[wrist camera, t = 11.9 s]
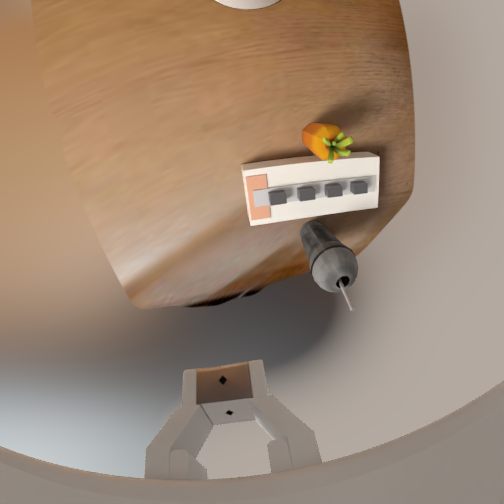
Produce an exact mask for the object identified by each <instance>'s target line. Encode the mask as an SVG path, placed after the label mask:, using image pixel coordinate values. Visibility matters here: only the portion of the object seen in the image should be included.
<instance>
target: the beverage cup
mask: <svg viewBox="0 0 504 504" xmlns="http://www.w3.org/2000/svg"><path fill="white" fill-rule="evenodd" d="M300 236H301V239H302V242H303V245H304V248H305V251H306V254H307V256H308V259H309V262H310V270H311V275H312V278H313V279H314V281H315V282H316V283H317V284H318V285H319V286H320V287H321V288H323V289H325V290H327V291H329V292H341V291H342V292H343V294H344V296H345V298H346V300H347V303H348V305H349V307H350V310H351V311H354V307H353V305H352V303H351V300H350V298H349V296H348V294H347V291H346V289H348V288H349V287H350V286H351V285H352V284H353V283H354V281H355V279H356V277H357V273H358V265H357V260H356V258H355V254H354V253H353V251H352V250H351V249H350V248H348V247H346V246H345V245H343V244H342V243H341V242H340V241H339V240H338V239H337V238H336V237H335V236H334V235H333V234H332V233H331V232H330V231H329V230H328V229H327V228H326V227H325V226H323V225H322V224H321V223H320V222H318V221H309V222H307V223H306V224H304V225H303V227H302V228H301V231H300Z"/></svg>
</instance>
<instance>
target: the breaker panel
mask: <svg viewBox="0 0 504 504" xmlns="http://www.w3.org/2000/svg"><path fill="white" fill-rule="evenodd" d="M241 168H242V175H243V182H244V189H245V196H246V203H247V210H248V216H249V220H250V224H251V226H254V225H260V224H267V223H273V222H279V221H286V220H293V219H299V218H306V217H313V216H320V215H327V214H334V213H341V212H348V211H356V210H363V209H371V208H378V193H379V156H377V155H375V154H372V153H370V152H352V153H351V154H350V155H349V156H342V155H341V156H340V157H339V158H338V159H337V160H334V161H333V163H331V164H330V163H328V160H321V159H320V158H319V157H317V156H316V155H314V156H304V157H295V158H286V159H278V160H270V161H262V162H255V163H248V164H241Z"/></svg>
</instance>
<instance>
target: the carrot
mask: <svg viewBox="0 0 504 504" xmlns="http://www.w3.org/2000/svg"><path fill="white" fill-rule="evenodd" d="M302 140H303V142H304V144H305V145H306V146H307V147H308V148H309V149H310V150H311V151H312V152H313V153H314V154H315V155H316V156H317V157H319V158H320V159H321V160H328V163H330V164H331V163H333V161H334V160H337V159H338V158H339V157H340V156H341V155H342V156H349V155H350V154H351V151H350V150H346V146H348V145H350V144H351V143H353V142H354V141H353V138H352V137H348V138H347V137H346V136H345V134H344V133H343V132H342V131H341V130H340V129H339V128H338V126H336V125H332V124H327V123H311V124H308V125H307V126H306V127H305V128H304V129H303V130H302Z"/></svg>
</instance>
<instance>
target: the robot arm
mask: <svg viewBox="0 0 504 504" xmlns="http://www.w3.org/2000/svg"><path fill="white" fill-rule="evenodd" d="M215 1H217V2H219V3H221V4H223V5H226V6H229V7H233V8H239V9H257V8H263V7H267V6H270V5H272V4H274V3H276V2H278V1H280V0H215ZM182 392H183V393H182V406H178V407H177V409H176V410H175V411H174V413H173V414H172V415H171V417H170V418H169V420H168V421H167V422H166V424H165V425H164V426H163V428H162V429H161V430H160V431H159V433H158V434H157V435H156V437H155V438H154V439H153V441H152V442H151V443H150V445H149V446H148V447H147V449H146V463H145V479H143V478H132V477H122V476H115V475H107V474H101V473H95V472H89V471H84V470H79V469H74V468H69V467H65V466H61V465H57V464H53V463H49V462H46V461H42V460H39V459H35V458H32V457H29V456H26V455H23V454H20V453H17V452H14V451H11V450H9V449H6V448H4V447H1V446H0V504H504V381H502V382H501V383H499V384H498V385H496V386H495V387H493V388H492V389H491V390H489V391H488V392H486V393H485V394H483V395H481V396H480V397H478V398H476V399H475V400H473V401H472V402H470V403H468V404H467V405H465V406H463V407H461V408H459V409H458V410H456V411H454V412H452V413H451V414H449V415H447V416H445V417H443V418H441V419H439V420H437V421H435V422H433V423H431V424H429V425H427V426H425V427H423V428H420V429H418V430H416V431H414V432H411V433H409V434H407V435H404V436H402V437H400V438H397V439H395V440H393V441H390V442H387V443H384V444H382V445H379V446H376V447H373V448H371V449H368V450H365V451H362V452H359V453H355V454H352V455H349V456H346V457H342V458H339V459H335V460H331V461H328V462H324V463H322V461H321V457H320V453H319V449H318V445H317V441H316V438H315V434H314V431H313V430H311V429H310V428H309V427H308V426H307V425H306V424H305V423H303V422H302V421H301V420H300V419H299V418H298V417H296V416H295V415H294V414H293V413H292V412H291V411H290V410H289V409H287V408H286V407H285V406H284V405H283V404H282V403H281V402H280V401H279V400H278V399H276V398H275V397H274V396H273V395H269V393H268V387H267V382H266V377H265V372H264V367H263V362H262V360H255V361H250V362H248V361H247V362H242V363H236V364H230V365H224V366H219V367H210V368H201V369H190V370H185V371H184V374H183V391H182ZM252 420H256V421H257V422H258V424H259V425H260V426H261V427H262V428H263V429H264V430H265V431H266V432H267V433H268V435H269V436H270V437H271V438H272V439H273V441H270V442H269V443H268V445H267V446H268V452H269V459H270V466H271V473H270V474H263V475H255V476H247V477H237V478H225V479H211V480H210V479H207V470H206V469H205V468H204V467H203V466H202V465H201V464H200V463H199V462H198V461H197V460H196V459H195V458H196V457H197V455H198V453H199V451H200V450H201V448H202V446H203V444H204V442H205V441H206V439H207V437H208V435H209V433H210V432H211V430H212V428H213V425H218V424H226V423H233V422H243V421H252Z"/></svg>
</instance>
